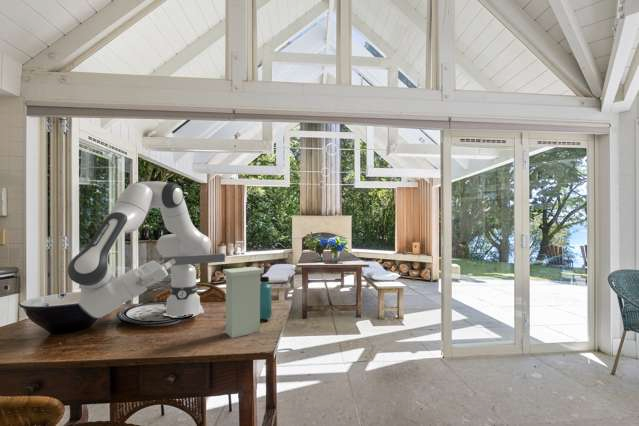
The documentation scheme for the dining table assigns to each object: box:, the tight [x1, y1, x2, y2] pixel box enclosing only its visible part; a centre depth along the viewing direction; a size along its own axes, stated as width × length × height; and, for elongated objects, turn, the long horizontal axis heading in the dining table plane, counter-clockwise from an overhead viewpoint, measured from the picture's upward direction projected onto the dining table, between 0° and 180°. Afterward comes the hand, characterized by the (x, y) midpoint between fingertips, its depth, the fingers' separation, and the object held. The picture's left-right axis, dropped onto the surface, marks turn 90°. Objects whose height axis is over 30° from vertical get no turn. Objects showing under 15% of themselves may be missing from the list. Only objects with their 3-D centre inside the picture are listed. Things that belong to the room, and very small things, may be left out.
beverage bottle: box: [260, 276, 273, 320], centre depth 150 cm, size 6×7×20 cm
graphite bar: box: [162, 253, 226, 266], centre depth 123 cm, size 22×3×3 cm, turn 126°
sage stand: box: [222, 266, 265, 339], centre depth 134 cm, size 14×9×26 cm, turn 126°
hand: (173, 259), depth 118 cm, fingers closed on graphite bar, 3 cm apart
